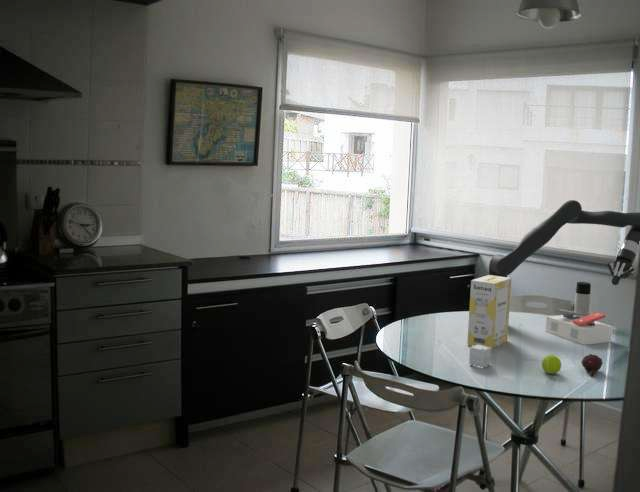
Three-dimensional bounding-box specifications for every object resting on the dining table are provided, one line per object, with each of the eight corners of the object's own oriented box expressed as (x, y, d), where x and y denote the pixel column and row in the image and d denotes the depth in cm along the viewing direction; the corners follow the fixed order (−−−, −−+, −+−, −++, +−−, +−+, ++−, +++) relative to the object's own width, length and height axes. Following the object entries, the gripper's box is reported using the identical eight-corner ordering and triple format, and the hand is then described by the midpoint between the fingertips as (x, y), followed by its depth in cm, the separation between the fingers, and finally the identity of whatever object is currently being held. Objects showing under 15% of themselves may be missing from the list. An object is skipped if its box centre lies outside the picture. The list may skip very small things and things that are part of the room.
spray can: (585, 321, 355) (589, 281, 353) (589, 325, 349) (592, 284, 346) (571, 321, 356) (574, 281, 353) (575, 324, 349) (578, 283, 347)
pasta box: (490, 349, 301) (494, 283, 297) (467, 345, 307) (471, 280, 303) (507, 341, 315) (511, 277, 312) (484, 336, 322) (488, 274, 318)
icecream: (580, 349, 282) (579, 362, 269) (600, 346, 279) (600, 360, 266) (584, 365, 283) (582, 380, 270) (604, 363, 280) (603, 378, 267)
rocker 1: (561, 313, 326) (562, 310, 326) (553, 311, 331) (554, 307, 331) (584, 317, 332) (584, 314, 332) (576, 315, 337) (576, 312, 337)
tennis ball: (556, 370, 275) (558, 353, 274) (563, 376, 268) (564, 358, 267) (538, 370, 274) (539, 352, 273) (544, 376, 267) (546, 358, 266)
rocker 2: (581, 326, 315) (581, 323, 315) (572, 323, 320) (572, 320, 320) (605, 317, 320) (605, 314, 320) (596, 315, 325) (596, 312, 325)
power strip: (583, 344, 313) (584, 326, 312) (545, 331, 334) (546, 313, 333) (611, 341, 319) (612, 323, 318) (572, 328, 341) (573, 311, 340)
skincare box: (476, 362, 283) (477, 344, 282) (490, 365, 279) (491, 347, 278) (468, 365, 278) (469, 347, 277) (483, 369, 274) (484, 350, 273)
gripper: (644, 259, 329) (630, 291, 324) (615, 253, 338) (601, 285, 333) (640, 251, 324) (626, 283, 319) (611, 245, 333) (597, 277, 328)
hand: (614, 284), depth 326 cm, fingers closed
